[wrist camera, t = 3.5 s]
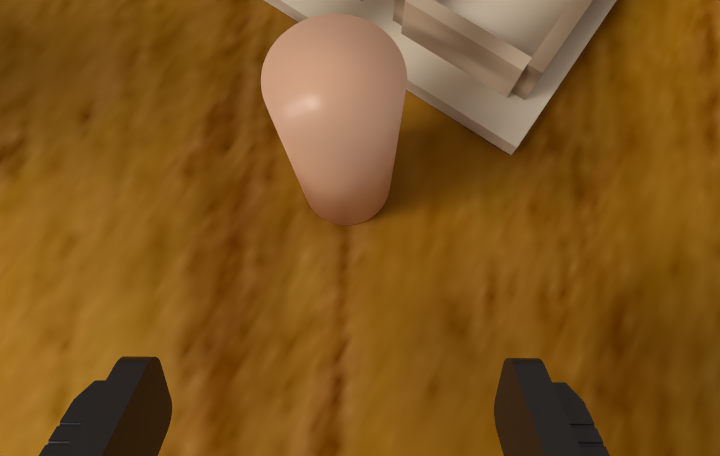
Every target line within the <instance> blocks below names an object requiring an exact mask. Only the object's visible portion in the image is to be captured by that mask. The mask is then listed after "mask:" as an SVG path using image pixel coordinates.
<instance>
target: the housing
mask: <svg viewBox="0 0 720 456" xmlns="http://www.w3.org/2000/svg"><path fill="white" fill-rule="evenodd" d="M264 1H265V2H267V3H269V4H270V5H272V6H273V7H275V8H277V9H278V10H280V11H281V12H283V13H285V14H286V15H288V16H289V17H291V18H293V19H294V20H296V21H297V22H301V21H303V20H305V19H308V18H311V17H314V16H319V15H325V14H346V15H352V16H356V17H360V18H362V19H365V20H368V21H370V22H372V23H373V24H375V25H377V26H378V27H380V28H381V29H383V30H384V31H385V32H386V33H387V34H388V35H389V36H390V37H391V38H392V39H393V40H394V42H395V43H396V44H397V46H398V48H399V49H400V51H401V53H402V55H403V58H404V61H405V64H406V69H407V88H406V90H407V91H409V92H411V93H412V94H414V95H415V96H417V97H419V98H420V99H422V100H423V101H425V102H427V103H428V104H430V105H431V106H433V107H435V108H436V109H438V110H439V111H441V112H443V113H444V114H446V115H447V116H449V117H451V118H452V119H454V120H455V121H457V122H459V123H460V124H462V125H463V126H465V127H467V128H468V129H470V130H471V131H473V132H475V133H476V134H478V135H479V136H481V137H482V138H484V139H486V140H487V141H489V142H490V143H492V144H494V145H495V146H497V147H498V148H500V149H502V150H503V151H505V152H506V153H508V154H510V155H512V153H513V152H514V151H515V150H516V148H517V147H518V146H519V144H520V143H521V141H522V140H523V138H524V137H525V135H526V134H527V132H528V131H529V129H530V128H531V126H532V125H533V123H534V122H535V120H536V119H537V117H538V116H539V114H540V113H541V112H542V110H543V109H544V107H545V106H546V104H547V103H548V101H549V100H550V98H551V97H552V95H553V94H554V92H555V91H556V89H557V88H558V86H559V85H560V83H561V82H562V80H563V79H564V77H565V76H566V75H567V73H568V72H569V70H570V69H571V67H572V66H573V64H574V63H575V61H576V60H577V58H578V57H579V55H580V54H581V52H582V51H583V49H584V48H585V46H586V45H587V43H588V42H589V40H590V39H591V38H592V36H593V35H594V33H595V32H596V30H597V29H598V27H599V26H600V24H601V23H602V21H603V20H604V18H605V17H606V15H607V14H608V12H609V11H610V9H611V8H612V6H613V5H614V3H615V2H616V1H617V0H264Z"/></svg>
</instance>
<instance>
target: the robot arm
mask: <svg viewBox="0 0 720 456" xmlns="http://www.w3.org/2000/svg"><path fill="white" fill-rule="evenodd" d="M171 415H172V401H171V397H170V394H169V390H168V387H167V383H166V380H165V376H164V373H163V370H162V366H161V363H160V360H159V359H158V358H157V357H121V358H120V359H119V360H118V361H117V363H116V364H115V366H114V367H113V369H112V371H111V373H110V374H109V376H108V378H107V380H106V381H94V382H93V383H92V384H91V385H89V386H88V387H87V388H86V389H85V390H84V391H83V392H82V393H81V394H79V395H78V396H77V397H76V398H75V399H74V400H73V402H72V403H71V405H70V407H69V408H68V410H67V411H66V413H65V415H64V416H63V418H62V419H61V421H60V425H59V426H57V427H56V429H55V431H54V432H53V434H52V435H51V437H50V439H49V440H48V441H49V443H48V445H45V447H44V448H43V450H42V451H41V453H40V455H39V456H158V454H159V451H160V448H161V446H162V443H163V441H164V438H165V436H166V433H167V431H168V428H169V425H170V421H171ZM494 416H495V424H496V429H497V433H498V436H499V440H500V443H501V447H502V450H503V454H504V456H610V455H609V453H608V451H607V449H606V447H604V446H603V441H602V439H601V436H600V434H599V432H598V430H597V428H595V427H594V422H593V420H592V418H591V416H590V414H589V412H588V410H587V408H586V406H585V403H584V402H583V401H582V399H581V398H580V397H579V396H578V395H577V394H576V393H575V392H574V391H573V390H572V389H571V388H570V387H569V386H568V385H567V384H566V383H552V381H551V379H550V377H549V375H548V372H547V370H546V368H545V365H544V363H543V362H542V361H541V360H540V359H537V358H507V359H505V361H504V364H503V368H502V372H501V377H500V381H499V385H498V389H497V394H496V398H495V404H494Z"/></svg>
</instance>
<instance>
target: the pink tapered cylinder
mask: <svg viewBox="0 0 720 456" xmlns="http://www.w3.org/2000/svg"><path fill="white" fill-rule="evenodd" d="M406 88H407V69H406V64H405V61H404V58H403V55H402V53H401V51H400V49H399V48H398V46H397V44H396V43H395V42H394V40H393V39H392V38H391V37H390V36H389V35H388V34H387V33H386V32H385V31H384V30H383V29H381V28H380V27H378V26H377V25H375V24H373V23H372V22H370V21H368V20H365V19H362V18H360V17H356V16H352V15H346V14H325V15H319V16H314V17H311V18H308V19H305V20H303V21H301V22H299V23H297V24H295V25H294V26H292V27H291V28H289V29H288V30H287V31H285V32H284V33H283V34H282V35H281V36H280V37H279V38H278V39H277V40H276V41H275V43H274V44H273V45H272V47H271V48H270V50H269V52H268V54H267V56H266V58H265V61H264V64H263V68H262V73H261V90H262V95H263V99H264V101H265V104H266V107H267V109H268V111H269V114H270V116H271V118H272V121H273V123H274V125H275V128H276V130H277V132H278V135H279V137H280V139H281V142H282V144H283V146H284V149H285V151H286V153H287V156H288V158H289V160H290V163H291V165H292V167H293V170H294V172H295V174H296V177H297V179H298V181H299V183H300V186H301V188H302V190H303V193H304V195H305V197H306V200H307V202H308V204H309V206H310V207H311V208H312V210H313V211H314V212H315V213H316V214H317V215H319V216H320V217H321V218H323V219H324V220H326V221H328V222H331V223H334V224H338V225H355V224H359V223H362V222H365V221H367V220H369V219H370V218H372V217H373V216H375V215H376V214H377V213H378V212H379V211H380V210H381V208H382V207H383V206H384V204H385V202H386V200H387V198H388V195H389V192H390V185H391V179H392V173H393V167H394V161H395V155H396V149H397V143H398V137H399V131H400V125H401V119H402V113H403V107H404V100H405V94H406Z"/></svg>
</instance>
